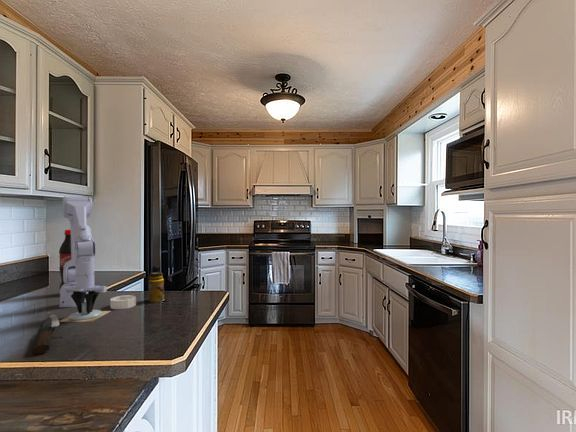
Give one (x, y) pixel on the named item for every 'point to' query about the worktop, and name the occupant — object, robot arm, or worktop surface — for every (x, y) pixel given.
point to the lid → (85, 314)
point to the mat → (84, 320)
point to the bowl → (123, 302)
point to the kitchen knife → (45, 335)
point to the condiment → (156, 287)
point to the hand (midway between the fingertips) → (85, 312)
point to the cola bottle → (65, 254)
